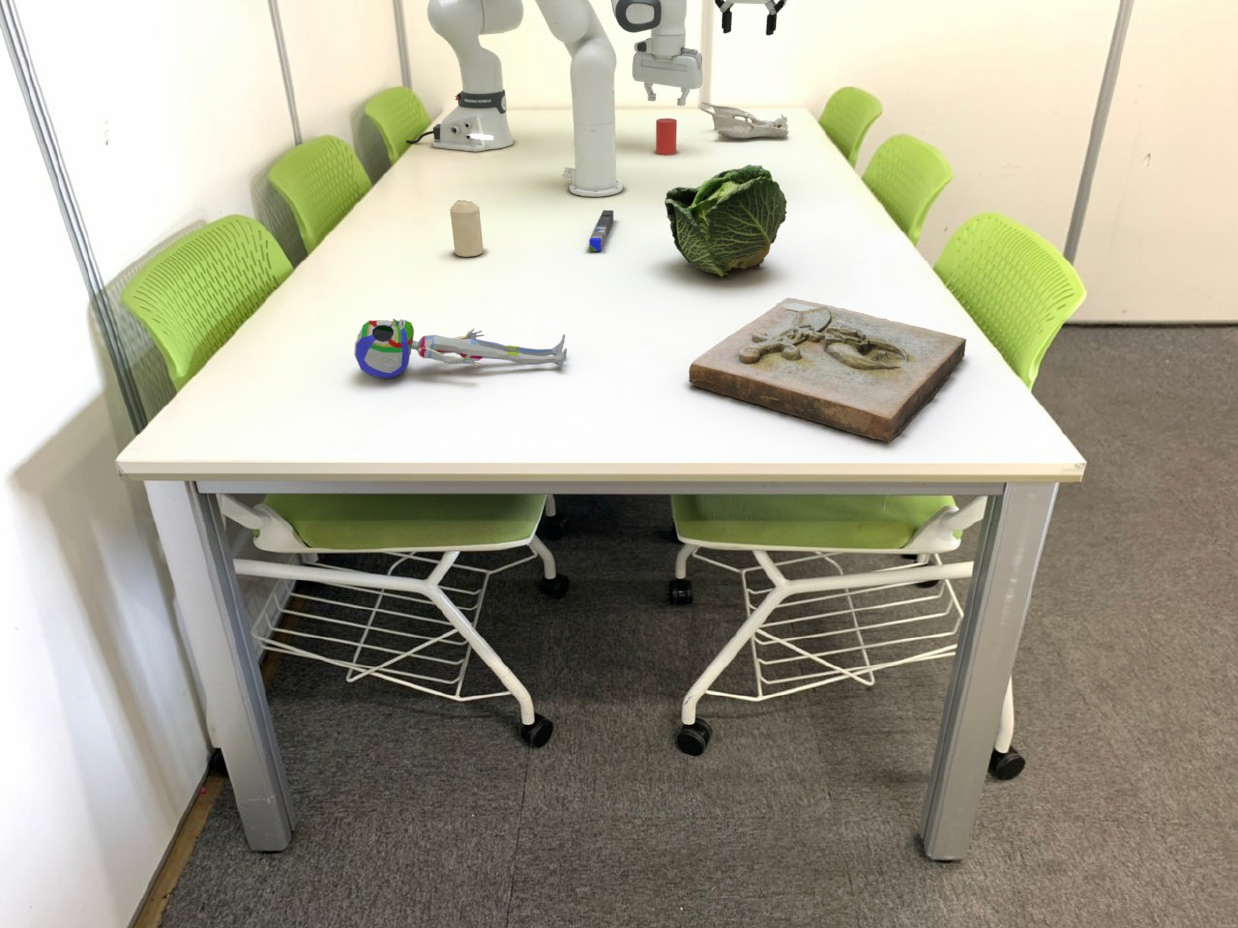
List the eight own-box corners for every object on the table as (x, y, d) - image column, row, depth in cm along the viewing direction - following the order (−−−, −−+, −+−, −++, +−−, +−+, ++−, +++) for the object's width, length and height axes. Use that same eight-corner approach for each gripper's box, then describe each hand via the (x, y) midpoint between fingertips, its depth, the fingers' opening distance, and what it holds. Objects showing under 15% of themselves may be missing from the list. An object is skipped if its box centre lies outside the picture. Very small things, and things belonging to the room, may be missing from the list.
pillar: (613, 210, 190) (600, 241, 173) (613, 220, 191) (600, 251, 174) (603, 210, 190) (589, 240, 173) (603, 220, 191) (589, 251, 174)
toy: (569, 347, 126) (349, 329, 122) (563, 400, 131) (350, 385, 126) (565, 318, 135) (359, 301, 130) (559, 369, 139) (360, 354, 134)
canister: (680, 153, 241) (680, 121, 237) (663, 156, 239) (664, 123, 234) (668, 149, 245) (668, 117, 241) (652, 152, 243) (652, 120, 238)
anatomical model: (702, 99, 259) (790, 97, 255) (702, 132, 264) (788, 131, 260) (698, 109, 247) (790, 108, 243) (698, 144, 252) (788, 143, 248)
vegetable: (694, 294, 173) (643, 202, 166) (775, 239, 175) (728, 145, 167) (734, 307, 155) (678, 205, 147) (824, 245, 156) (773, 141, 149)
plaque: (899, 396, 108) (687, 337, 122) (890, 447, 111) (686, 383, 126) (977, 316, 128) (788, 274, 143) (967, 361, 132) (784, 315, 147)
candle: (488, 249, 176) (483, 198, 171) (475, 258, 172) (470, 206, 167) (463, 246, 178) (457, 196, 173) (450, 255, 174) (443, 204, 168)
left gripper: (709, 48, 225) (706, 106, 233) (643, 40, 236) (642, 96, 243) (695, 51, 221) (692, 110, 229) (628, 43, 231) (628, 100, 239)
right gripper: (800, -59, 182) (792, 33, 191) (720, -60, 189) (717, 30, 198) (788, -58, 177) (781, 38, 186) (707, -58, 183) (704, 34, 193)
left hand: (666, 103), depth 236 cm, fingers open, 8 cm apart
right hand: (748, 33), depth 192 cm, fingers open, 9 cm apart
